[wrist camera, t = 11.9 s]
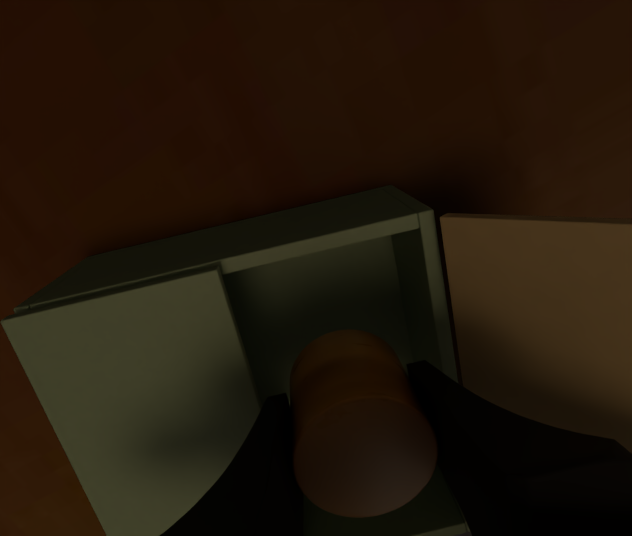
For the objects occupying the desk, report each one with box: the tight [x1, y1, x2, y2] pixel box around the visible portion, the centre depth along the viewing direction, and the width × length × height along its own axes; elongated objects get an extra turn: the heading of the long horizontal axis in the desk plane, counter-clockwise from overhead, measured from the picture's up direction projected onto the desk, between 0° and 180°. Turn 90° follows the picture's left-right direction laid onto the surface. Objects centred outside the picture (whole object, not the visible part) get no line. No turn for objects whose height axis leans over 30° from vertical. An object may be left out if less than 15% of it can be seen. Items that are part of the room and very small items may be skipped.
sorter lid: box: [440, 213, 632, 453], centre depth 12 cm, size 13×6×1 cm
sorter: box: [1, 185, 470, 536], centre depth 18 cm, size 13×13×6 cm
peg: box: [289, 329, 438, 518], centre depth 14 cm, size 4×4×4 cm
